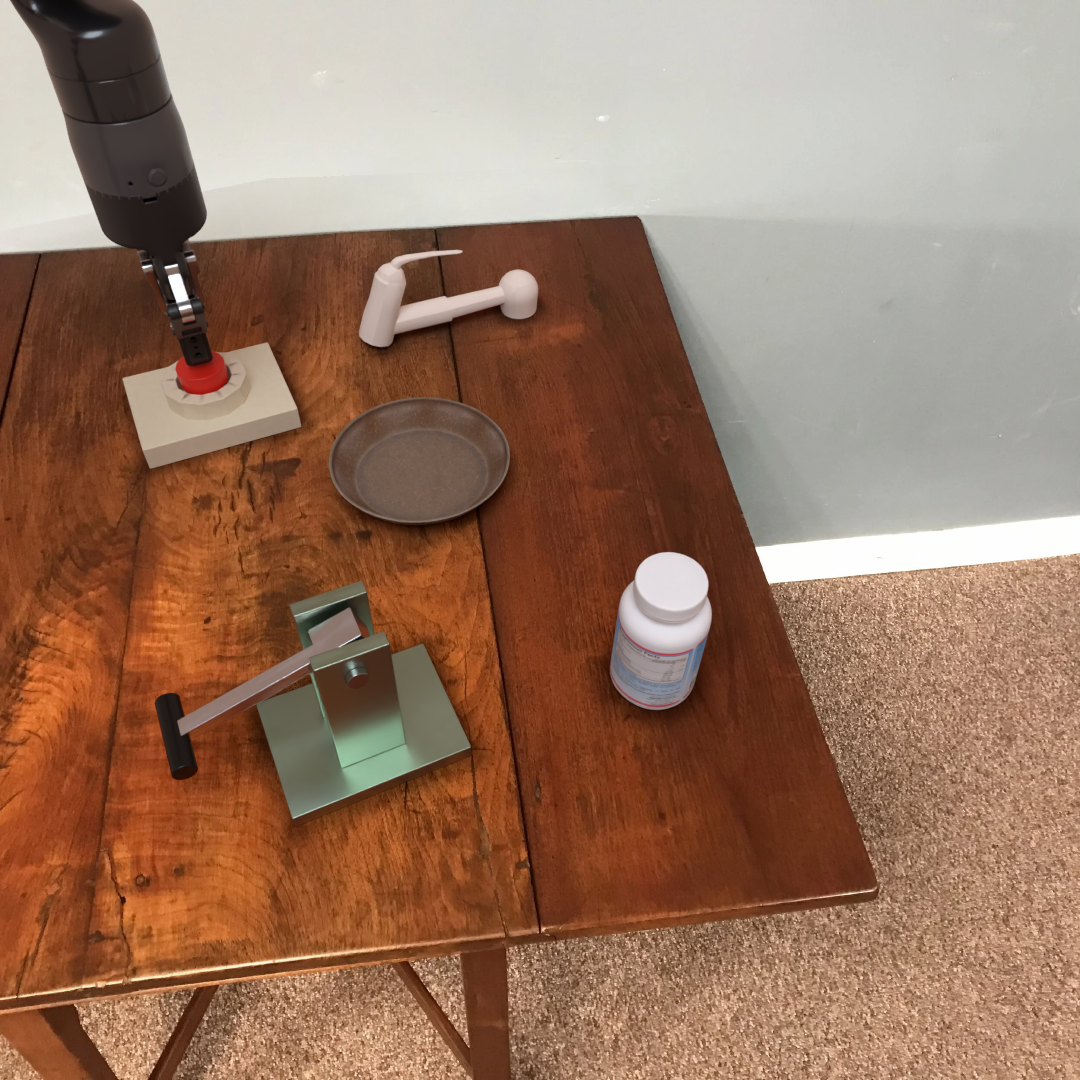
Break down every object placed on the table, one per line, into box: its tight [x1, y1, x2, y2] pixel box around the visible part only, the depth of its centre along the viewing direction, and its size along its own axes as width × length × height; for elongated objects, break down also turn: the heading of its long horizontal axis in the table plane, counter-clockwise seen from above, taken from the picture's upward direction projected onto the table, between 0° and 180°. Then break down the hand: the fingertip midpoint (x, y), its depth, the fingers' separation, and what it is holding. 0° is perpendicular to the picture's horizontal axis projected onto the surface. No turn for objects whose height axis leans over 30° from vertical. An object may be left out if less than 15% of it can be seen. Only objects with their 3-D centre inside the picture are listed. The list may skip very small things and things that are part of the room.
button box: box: [121, 342, 302, 469], centre depth 82 cm, size 13×10×4 cm
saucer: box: [328, 396, 511, 526], centre depth 78 cm, size 15×15×3 cm
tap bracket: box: [256, 580, 473, 827], centre depth 58 cm, size 12×9×13 cm
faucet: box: [358, 249, 539, 348], centre depth 91 cm, size 4×18×10 cm, turn 114°
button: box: [176, 350, 228, 395], centre depth 80 cm, size 4×4×2 cm
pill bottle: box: [609, 551, 713, 711], centre depth 63 cm, size 6×6×11 cm
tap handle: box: [154, 607, 370, 781], centre depth 55 cm, size 13×5×2 cm, turn 115°
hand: (199, 359), depth 79 cm, fingers closed
